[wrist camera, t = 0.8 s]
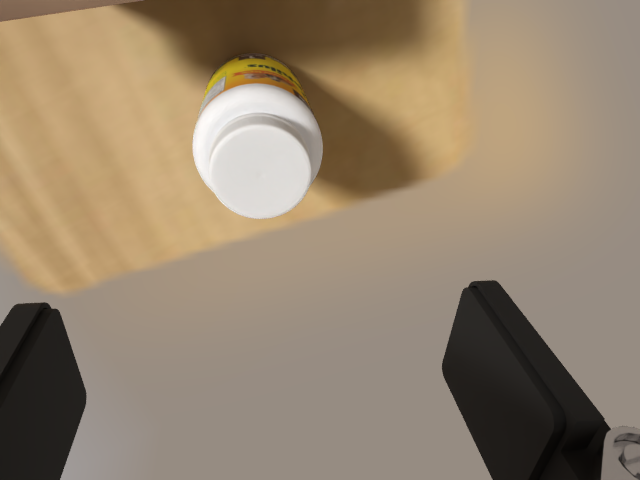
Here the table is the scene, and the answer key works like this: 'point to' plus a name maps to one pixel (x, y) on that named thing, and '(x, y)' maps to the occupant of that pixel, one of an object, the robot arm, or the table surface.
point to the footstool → (48, 7)
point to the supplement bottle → (257, 137)
